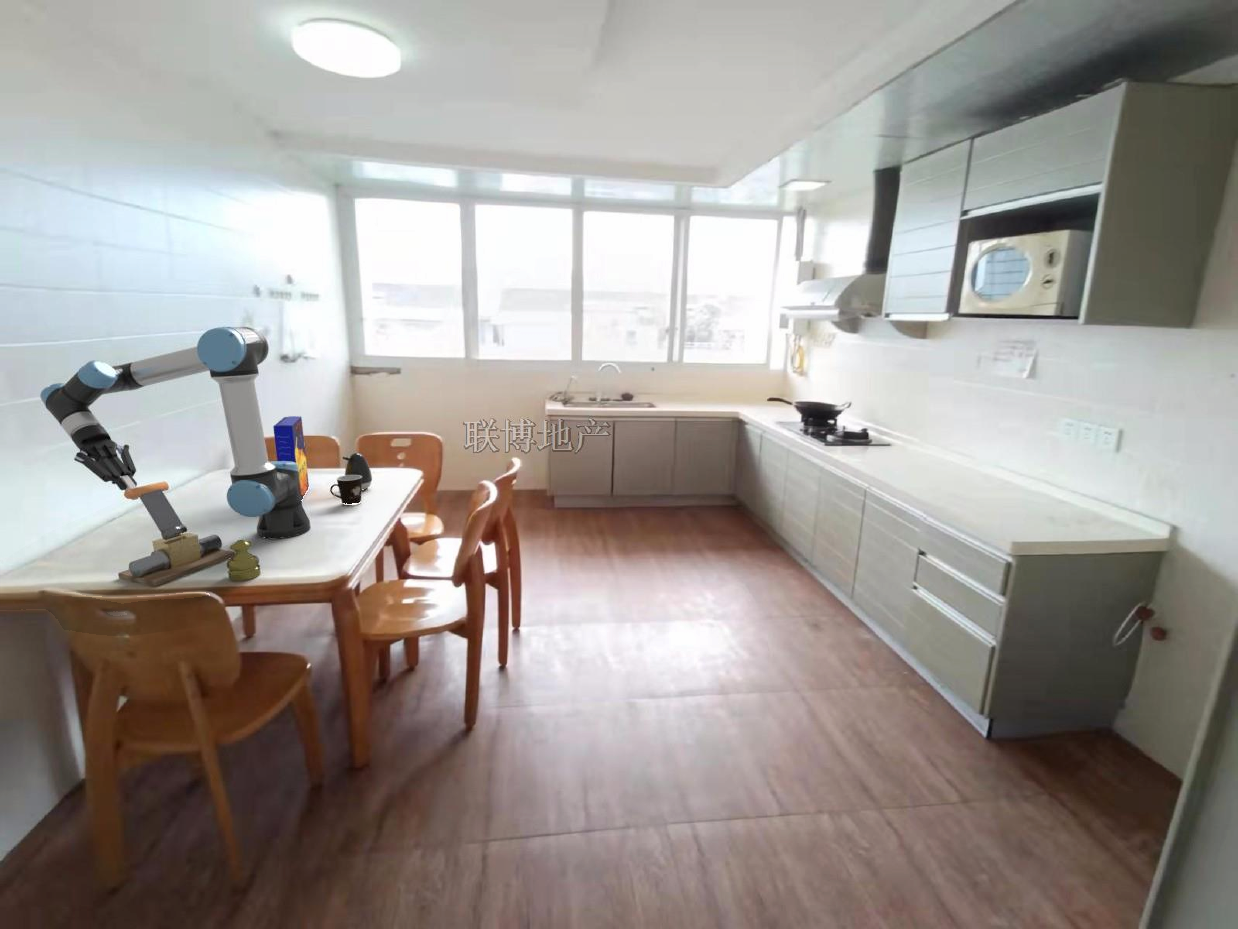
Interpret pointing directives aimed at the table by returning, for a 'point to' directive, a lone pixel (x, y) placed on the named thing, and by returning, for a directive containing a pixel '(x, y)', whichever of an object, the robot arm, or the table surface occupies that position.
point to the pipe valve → (176, 559)
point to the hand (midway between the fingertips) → (136, 496)
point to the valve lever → (159, 508)
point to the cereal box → (292, 446)
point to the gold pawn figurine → (242, 562)
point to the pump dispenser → (359, 468)
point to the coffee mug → (349, 488)
